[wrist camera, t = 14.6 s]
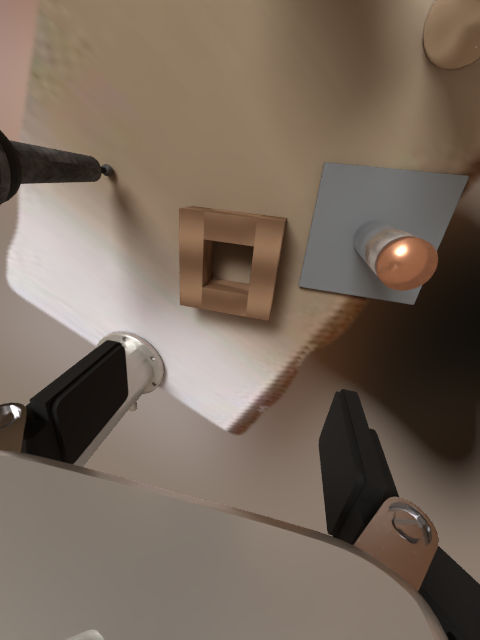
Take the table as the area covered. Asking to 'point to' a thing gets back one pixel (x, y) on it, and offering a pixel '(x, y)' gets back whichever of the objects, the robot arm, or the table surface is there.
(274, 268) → the eye block
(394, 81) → the table surface
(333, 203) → the slate mat
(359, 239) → the steel peg
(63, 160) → the microphone
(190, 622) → the robot arm
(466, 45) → the beer glass
